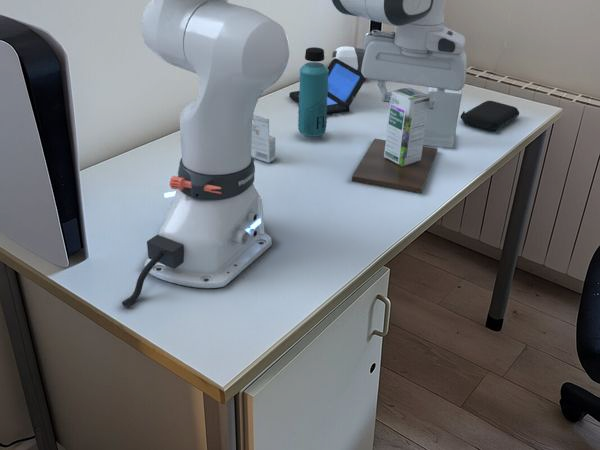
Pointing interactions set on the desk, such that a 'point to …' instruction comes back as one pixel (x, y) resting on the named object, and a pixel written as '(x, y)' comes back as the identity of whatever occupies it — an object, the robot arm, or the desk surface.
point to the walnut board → (394, 169)
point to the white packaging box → (442, 119)
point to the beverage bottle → (313, 94)
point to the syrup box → (406, 125)
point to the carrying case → (490, 116)
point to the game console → (339, 87)
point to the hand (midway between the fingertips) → (408, 104)
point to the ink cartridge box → (262, 140)
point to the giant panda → (350, 56)
